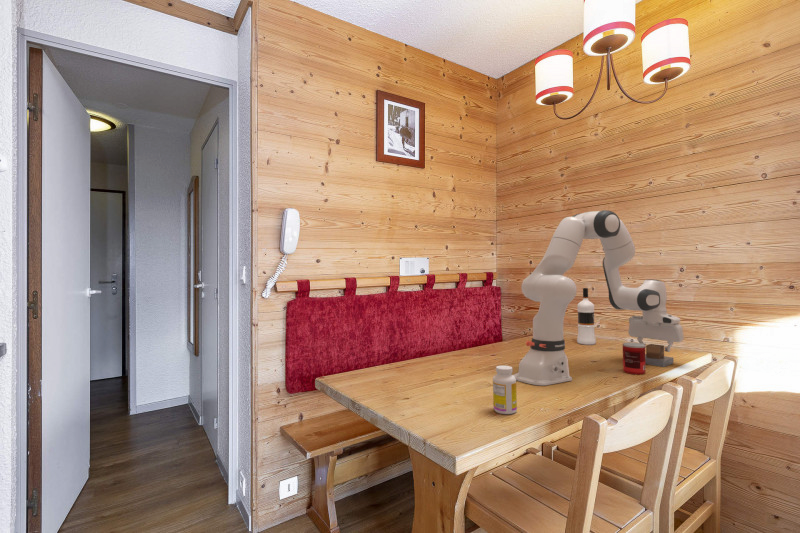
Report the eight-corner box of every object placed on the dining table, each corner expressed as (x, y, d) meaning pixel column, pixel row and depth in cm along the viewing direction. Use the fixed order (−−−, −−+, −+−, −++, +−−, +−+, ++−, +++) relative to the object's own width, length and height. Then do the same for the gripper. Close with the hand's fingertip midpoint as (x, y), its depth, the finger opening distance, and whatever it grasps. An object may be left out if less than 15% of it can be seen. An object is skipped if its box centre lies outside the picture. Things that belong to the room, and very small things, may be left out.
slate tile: (663, 367, 163) (663, 361, 163) (637, 362, 171) (637, 356, 171) (673, 363, 169) (673, 357, 169) (647, 359, 177) (647, 353, 177)
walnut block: (659, 359, 166) (659, 347, 166) (646, 357, 170) (646, 345, 170) (664, 357, 169) (664, 345, 169) (651, 355, 173) (651, 343, 173)
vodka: (574, 341, 219) (573, 287, 219) (591, 341, 218) (591, 287, 219) (580, 345, 210) (579, 288, 210) (598, 345, 209) (597, 288, 209)
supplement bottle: (512, 406, 120) (512, 364, 120) (520, 414, 113) (519, 369, 113) (490, 407, 120) (490, 364, 120) (496, 415, 113) (496, 370, 113)
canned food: (639, 369, 160) (638, 342, 160) (649, 375, 152) (649, 346, 152) (619, 369, 161) (618, 342, 161) (628, 374, 153) (628, 346, 153)
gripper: (625, 315, 176) (626, 346, 176) (678, 320, 160) (679, 354, 160) (632, 314, 180) (632, 345, 180) (684, 319, 164) (685, 352, 164)
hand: (655, 349), depth 170 cm, fingers open, 8 cm apart
